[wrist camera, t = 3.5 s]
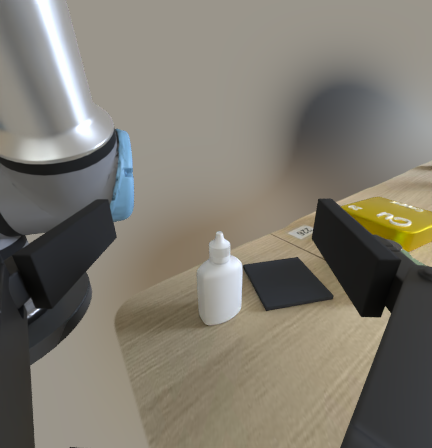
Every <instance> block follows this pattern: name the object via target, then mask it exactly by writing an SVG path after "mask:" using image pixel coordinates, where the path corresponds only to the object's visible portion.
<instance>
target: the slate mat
mask: <svg viewBox="0 0 432 448" xmlns="http://www.w3.org/2000/svg"><path fill="white" fill-rule="evenodd" d="M243 268H244V270H245V272H246V274H247V275H248V277H249V279H250V281H251V283H252V285H253V287H254V289H255V291H256V293H257V294H258V296H259V298H260V300H261V302H262V304H263V306H264V308H265V310H266V311H268V310H274V309H279V308H285V307H290V306H296V305H302V304H307V303H313V302H318V301H324V300H329V299H333V295H332V293H331V292H330V291H329V290H328V289H327V288H326V287H325V286H324V285H323V284H322V283H321V282H320V281H319V280H318V278H317V277H316V276H315V275H314V274H313V273H312V272H311V271H310V270H309V269H308V268H307V267H306V266H305V265H304V263H303V262H302V261H301V260H300V259H299V258H298V257H296V258H288V259H281V260H274V261H267V262H260V263H253V264H246V265H243Z"/></svg>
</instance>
